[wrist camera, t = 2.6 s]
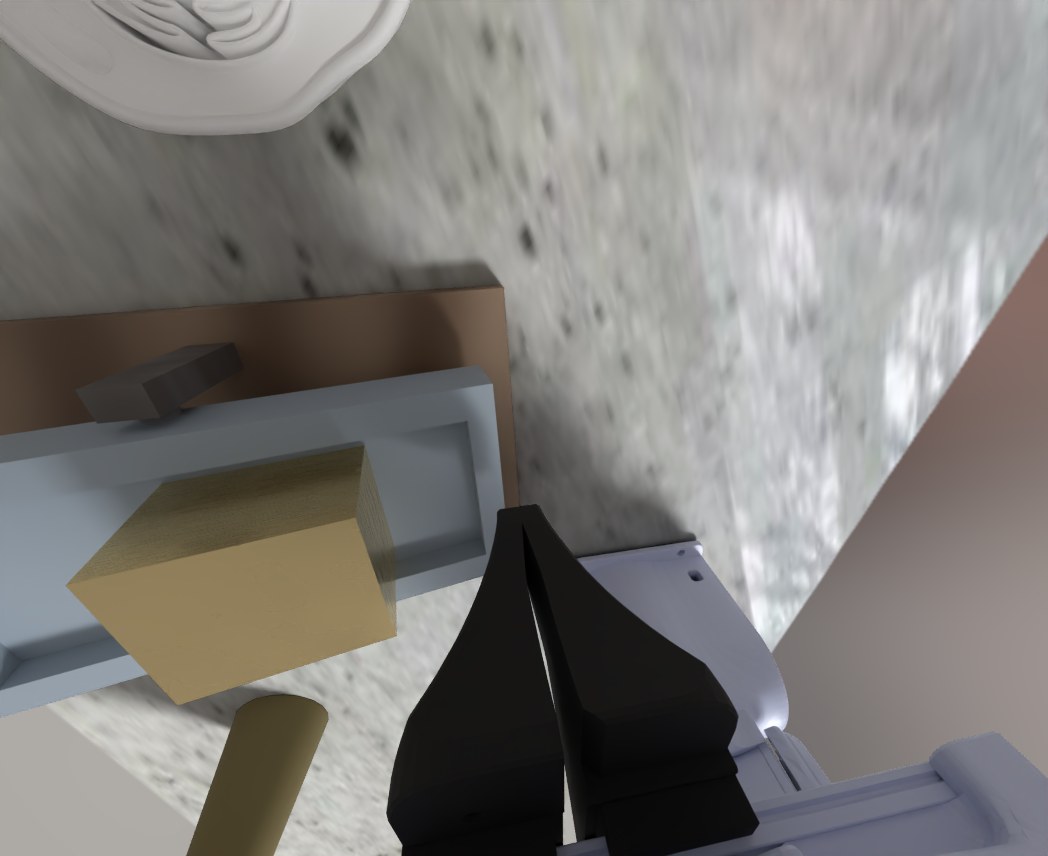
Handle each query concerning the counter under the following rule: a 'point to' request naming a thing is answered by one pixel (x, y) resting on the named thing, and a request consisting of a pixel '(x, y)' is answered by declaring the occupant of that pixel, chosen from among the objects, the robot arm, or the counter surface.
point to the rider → (247, 573)
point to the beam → (217, 446)
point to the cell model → (201, 56)
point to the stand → (249, 356)
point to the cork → (259, 776)
